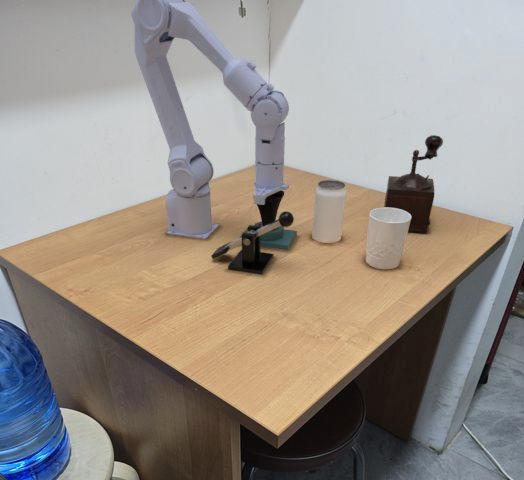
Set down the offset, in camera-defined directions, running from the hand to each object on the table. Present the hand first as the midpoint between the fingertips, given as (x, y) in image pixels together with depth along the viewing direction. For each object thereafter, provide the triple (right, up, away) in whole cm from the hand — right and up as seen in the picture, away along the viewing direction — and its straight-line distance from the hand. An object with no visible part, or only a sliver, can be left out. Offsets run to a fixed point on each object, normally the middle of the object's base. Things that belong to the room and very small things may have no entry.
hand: (268, 226), depth 105 cm
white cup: (+23, -9, -6) cm, 25 cm away
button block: (0, -3, +2) cm, 3 cm away
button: (0, -1, +1) cm, 2 cm away
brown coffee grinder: (+33, +5, +13) cm, 36 cm away
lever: (-3, -6, -10) cm, 12 cm away
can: (+13, -2, +3) cm, 13 cm away
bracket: (-3, -10, -7) cm, 12 cm away
